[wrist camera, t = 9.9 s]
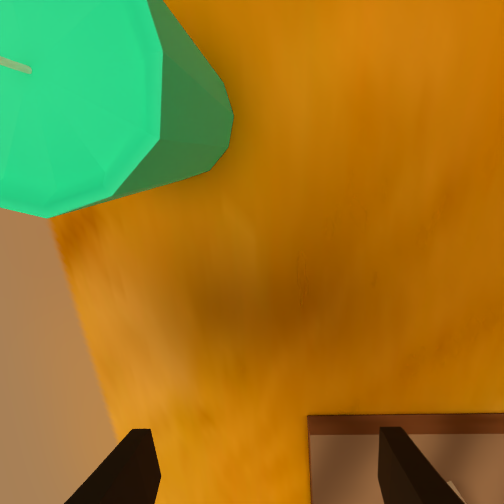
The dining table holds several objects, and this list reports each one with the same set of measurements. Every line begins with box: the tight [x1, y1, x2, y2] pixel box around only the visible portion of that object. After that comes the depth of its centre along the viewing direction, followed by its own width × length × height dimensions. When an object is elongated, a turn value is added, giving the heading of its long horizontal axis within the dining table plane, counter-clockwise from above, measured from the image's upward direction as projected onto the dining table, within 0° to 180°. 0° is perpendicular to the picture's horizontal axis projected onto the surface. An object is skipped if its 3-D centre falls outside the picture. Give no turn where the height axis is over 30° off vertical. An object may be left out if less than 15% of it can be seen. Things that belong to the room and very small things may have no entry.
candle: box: [0, 0, 234, 218], centre depth 10 cm, size 6×6×12 cm
